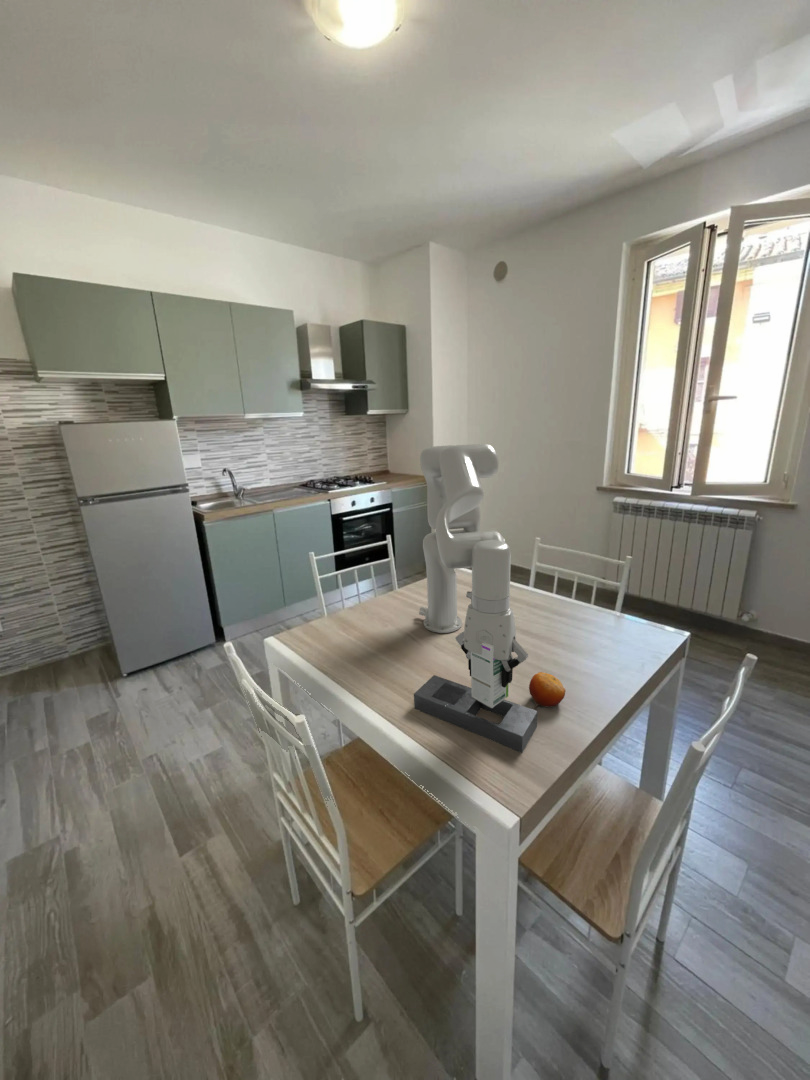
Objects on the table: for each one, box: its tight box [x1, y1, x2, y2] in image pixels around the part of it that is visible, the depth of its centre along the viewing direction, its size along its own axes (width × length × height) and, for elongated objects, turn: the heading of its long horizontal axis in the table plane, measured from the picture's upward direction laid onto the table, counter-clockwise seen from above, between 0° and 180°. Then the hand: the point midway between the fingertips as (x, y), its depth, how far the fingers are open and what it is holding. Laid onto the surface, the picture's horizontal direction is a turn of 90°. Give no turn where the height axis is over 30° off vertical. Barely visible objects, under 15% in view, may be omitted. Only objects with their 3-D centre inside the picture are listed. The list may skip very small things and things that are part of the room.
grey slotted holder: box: [413, 674, 539, 754], centre depth 95 cm, size 26×9×4 cm, turn 55°
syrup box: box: [470, 642, 509, 708], centre depth 90 cm, size 6×6×14 cm
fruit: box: [528, 671, 566, 709], centre depth 99 cm, size 8×8×8 cm
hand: (489, 678), depth 91 cm, fingers closed on syrup box, 6 cm apart
